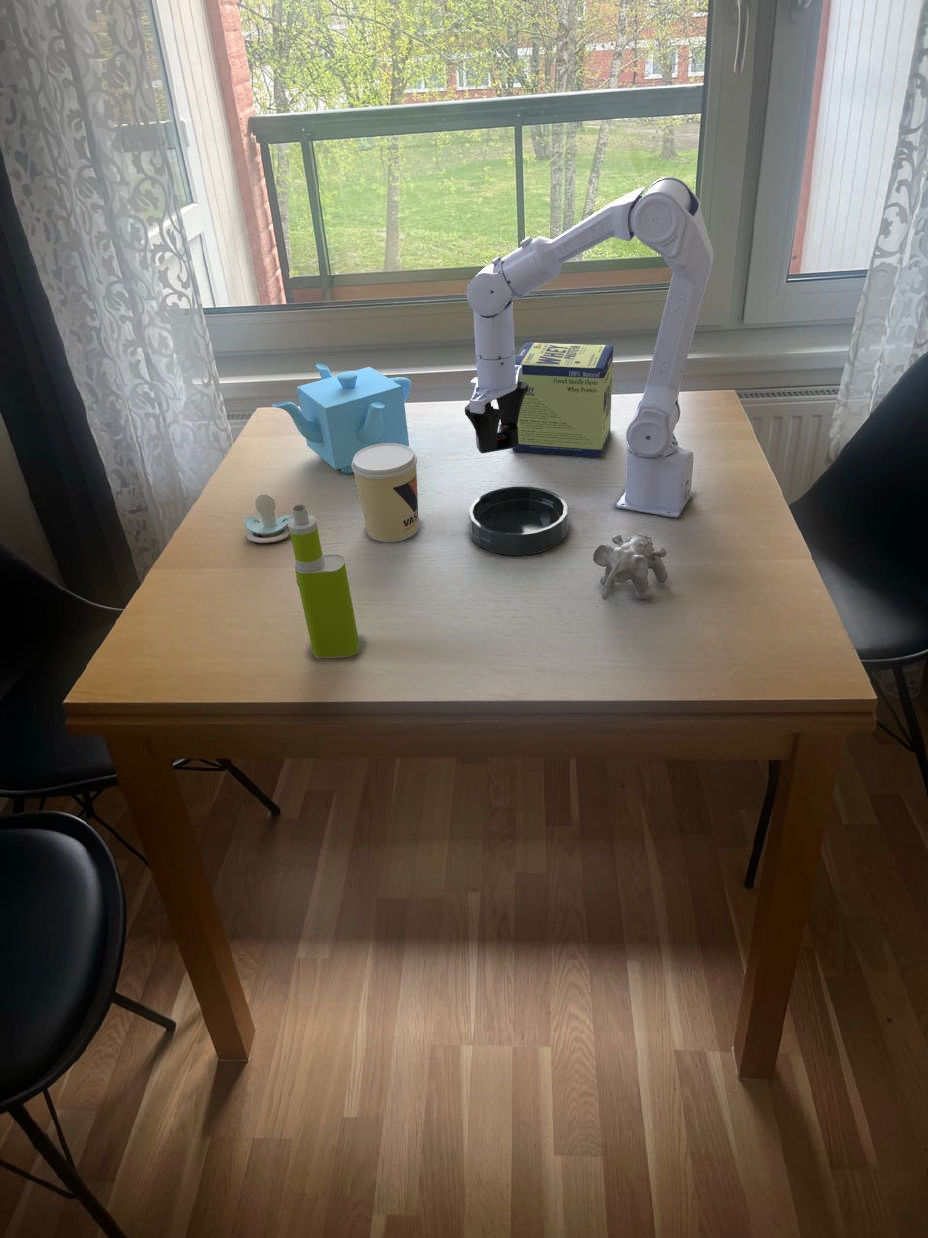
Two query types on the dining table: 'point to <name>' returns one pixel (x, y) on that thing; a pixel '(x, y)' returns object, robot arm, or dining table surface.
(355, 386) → the teakettle
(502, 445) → the wireless earbuds
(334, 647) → the vape
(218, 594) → the dining table surface
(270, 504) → the pacifier
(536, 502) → the bowl
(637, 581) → the gray elephant figurine
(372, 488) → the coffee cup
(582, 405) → the protein box
